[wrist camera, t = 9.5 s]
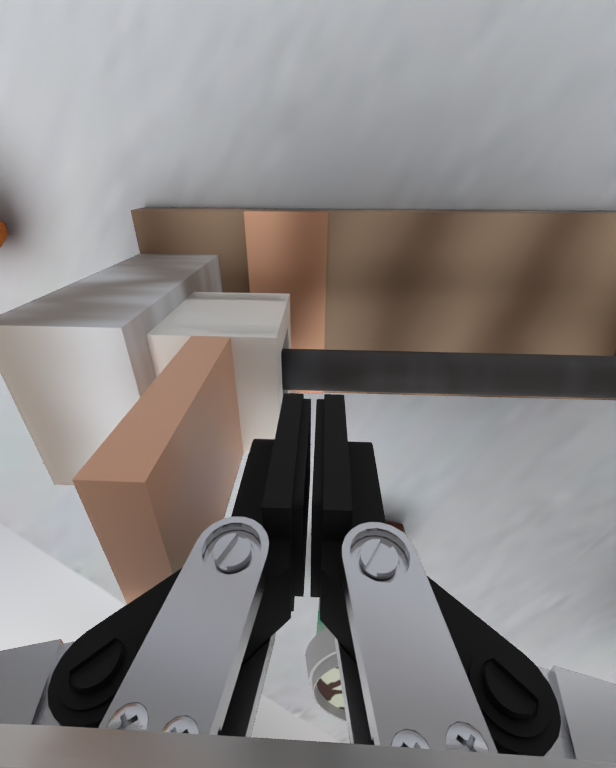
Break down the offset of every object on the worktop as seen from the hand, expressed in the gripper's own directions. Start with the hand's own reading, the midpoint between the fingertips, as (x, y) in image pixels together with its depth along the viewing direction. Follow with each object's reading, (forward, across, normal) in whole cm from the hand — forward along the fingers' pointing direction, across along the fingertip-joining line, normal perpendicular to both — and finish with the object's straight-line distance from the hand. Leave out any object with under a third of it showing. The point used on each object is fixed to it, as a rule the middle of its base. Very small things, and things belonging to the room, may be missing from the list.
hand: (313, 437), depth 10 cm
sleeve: (+6, +3, 0) cm, 7 cm away
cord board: (+12, -5, 0) cm, 13 cm away
